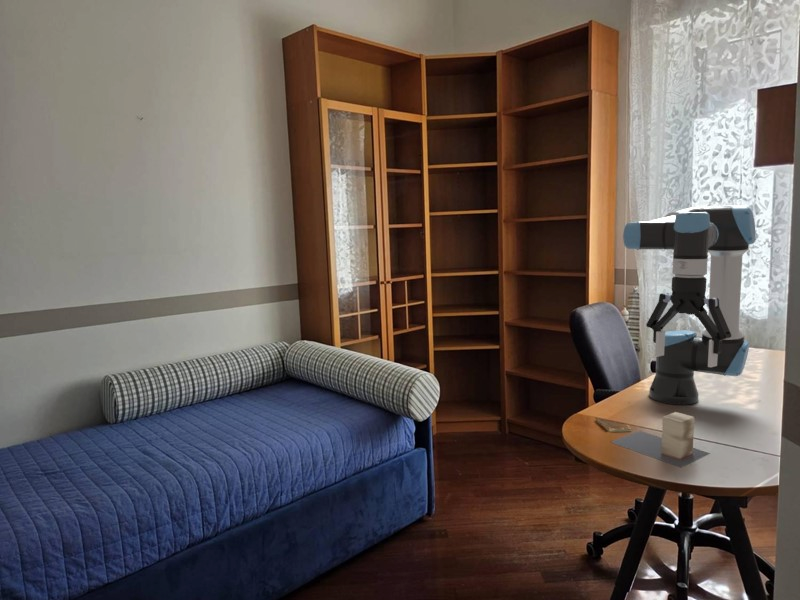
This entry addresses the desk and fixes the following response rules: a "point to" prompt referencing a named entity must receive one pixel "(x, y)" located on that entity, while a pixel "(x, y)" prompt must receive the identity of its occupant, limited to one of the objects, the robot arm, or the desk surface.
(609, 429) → the shard
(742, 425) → the desk surface
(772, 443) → the desk surface
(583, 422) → the desk surface
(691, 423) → the birch block
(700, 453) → the rubber mat
